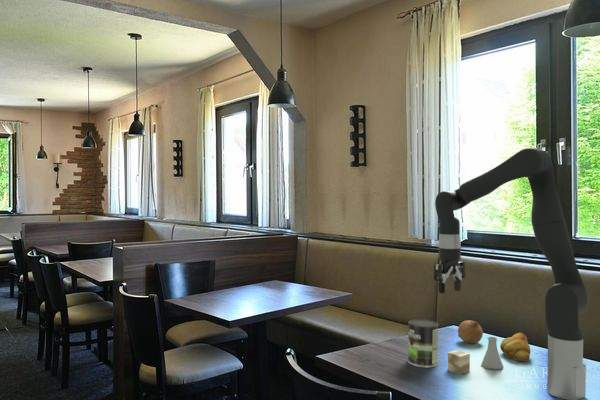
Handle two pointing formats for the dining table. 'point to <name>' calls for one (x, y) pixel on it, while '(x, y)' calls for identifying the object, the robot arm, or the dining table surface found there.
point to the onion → (470, 332)
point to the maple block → (458, 361)
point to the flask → (492, 355)
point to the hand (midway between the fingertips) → (449, 292)
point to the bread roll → (516, 347)
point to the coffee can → (422, 343)
